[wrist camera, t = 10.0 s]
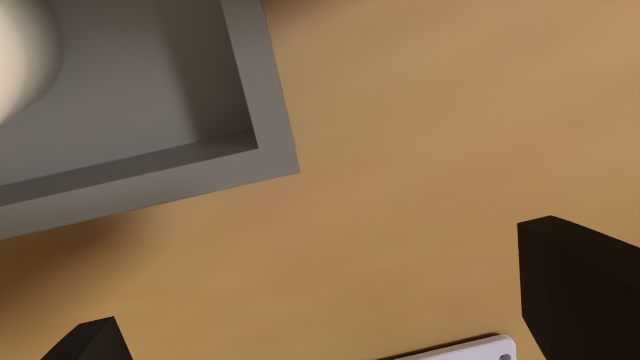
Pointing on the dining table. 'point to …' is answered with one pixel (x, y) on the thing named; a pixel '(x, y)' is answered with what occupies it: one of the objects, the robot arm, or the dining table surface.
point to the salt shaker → (27, 54)
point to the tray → (146, 113)
